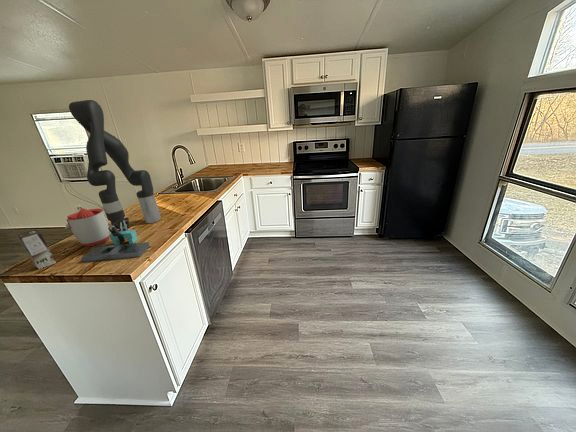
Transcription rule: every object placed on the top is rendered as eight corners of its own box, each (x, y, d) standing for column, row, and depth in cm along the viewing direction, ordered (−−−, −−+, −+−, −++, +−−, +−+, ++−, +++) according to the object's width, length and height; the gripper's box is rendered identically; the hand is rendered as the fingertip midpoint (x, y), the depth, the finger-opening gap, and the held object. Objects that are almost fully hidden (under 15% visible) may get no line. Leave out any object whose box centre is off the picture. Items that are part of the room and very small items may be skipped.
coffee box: (57, 262, 110) (41, 232, 104) (38, 269, 105) (20, 238, 99) (51, 258, 114) (35, 228, 108) (33, 264, 109) (15, 234, 103)
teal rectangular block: (118, 241, 127) (114, 231, 124) (138, 239, 127) (135, 229, 125) (113, 245, 122) (108, 235, 120) (134, 243, 123) (130, 233, 121)
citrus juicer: (74, 243, 128) (59, 209, 121) (112, 232, 138) (100, 201, 131) (74, 253, 117) (56, 217, 109) (115, 241, 127) (101, 207, 119)
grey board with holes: (98, 251, 118) (96, 246, 117) (149, 246, 119) (148, 242, 118) (83, 262, 108) (81, 257, 108) (139, 256, 110) (138, 252, 109)
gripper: (114, 205, 124) (125, 234, 130) (96, 215, 111) (109, 246, 117) (129, 204, 124) (139, 233, 131) (112, 214, 111) (124, 245, 118)
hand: (124, 239), depth 124 cm, fingers closed on teal rectangular block, 4 cm apart
